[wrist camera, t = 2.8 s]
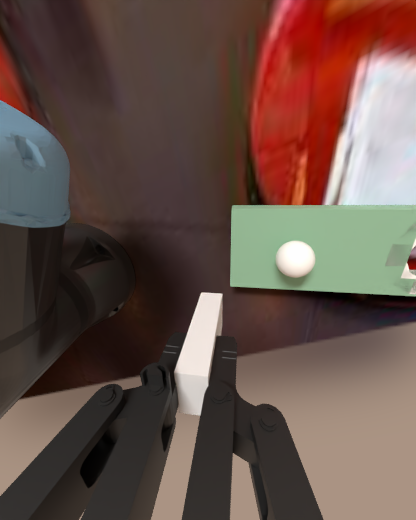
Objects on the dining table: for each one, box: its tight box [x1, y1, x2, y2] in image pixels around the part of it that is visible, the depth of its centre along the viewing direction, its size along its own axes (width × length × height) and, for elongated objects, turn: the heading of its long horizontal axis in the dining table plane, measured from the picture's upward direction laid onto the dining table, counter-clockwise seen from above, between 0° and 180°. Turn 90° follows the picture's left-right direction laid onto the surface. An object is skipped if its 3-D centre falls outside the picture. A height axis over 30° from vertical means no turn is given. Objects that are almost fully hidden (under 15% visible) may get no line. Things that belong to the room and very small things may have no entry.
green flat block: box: [230, 205, 416, 296], centre depth 24 cm, size 28×10×4 cm, turn 91°
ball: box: [276, 241, 315, 278], centre depth 23 cm, size 4×4×4 cm
